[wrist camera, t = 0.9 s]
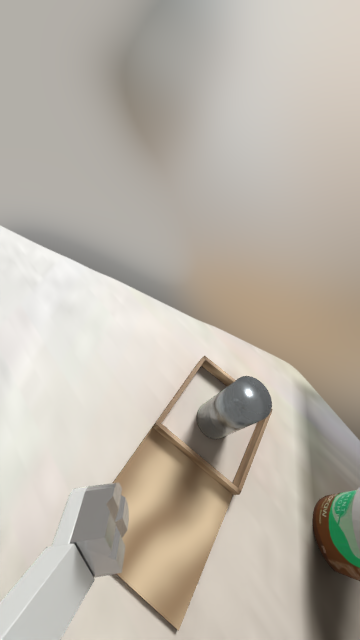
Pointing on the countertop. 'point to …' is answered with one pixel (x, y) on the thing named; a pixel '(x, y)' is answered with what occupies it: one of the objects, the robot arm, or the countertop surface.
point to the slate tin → (234, 408)
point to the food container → (339, 531)
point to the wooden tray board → (175, 511)
